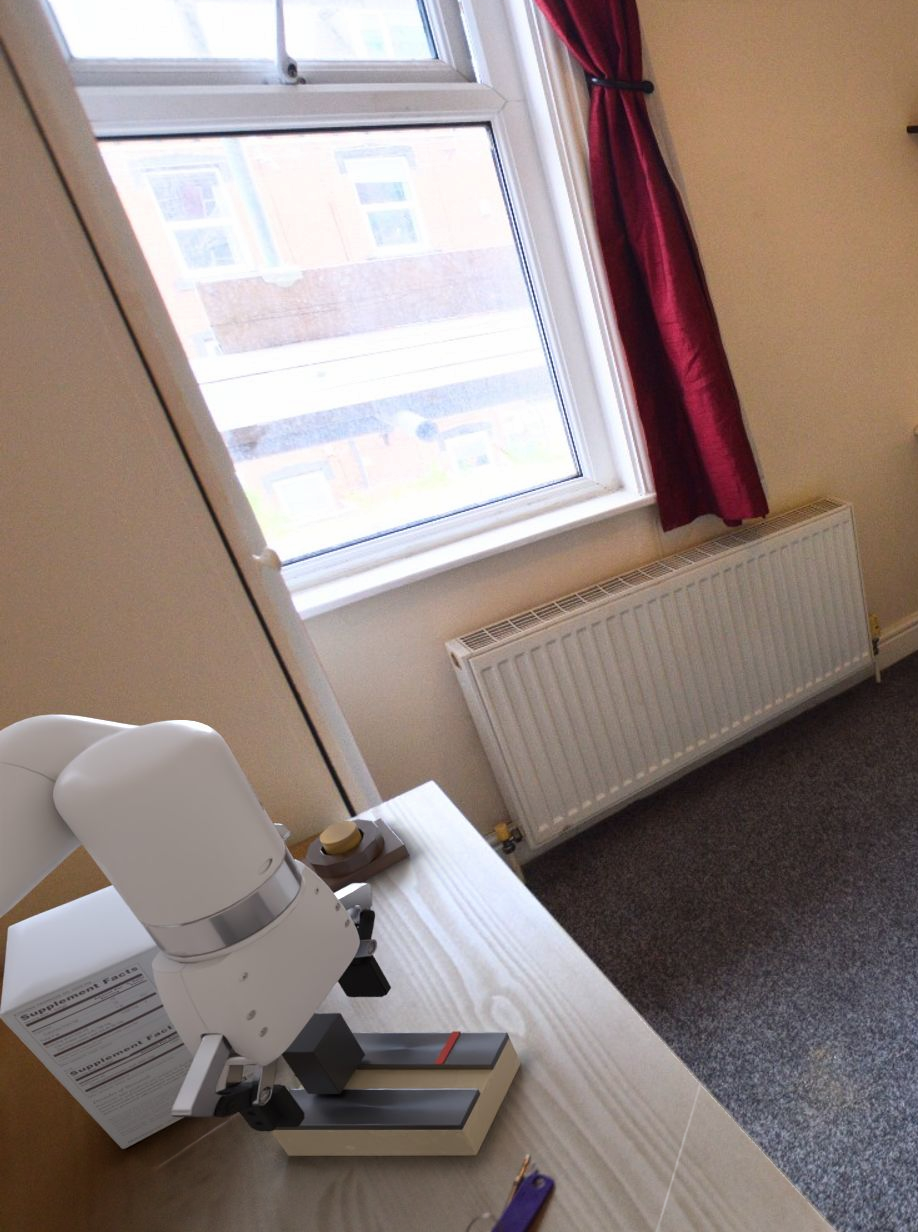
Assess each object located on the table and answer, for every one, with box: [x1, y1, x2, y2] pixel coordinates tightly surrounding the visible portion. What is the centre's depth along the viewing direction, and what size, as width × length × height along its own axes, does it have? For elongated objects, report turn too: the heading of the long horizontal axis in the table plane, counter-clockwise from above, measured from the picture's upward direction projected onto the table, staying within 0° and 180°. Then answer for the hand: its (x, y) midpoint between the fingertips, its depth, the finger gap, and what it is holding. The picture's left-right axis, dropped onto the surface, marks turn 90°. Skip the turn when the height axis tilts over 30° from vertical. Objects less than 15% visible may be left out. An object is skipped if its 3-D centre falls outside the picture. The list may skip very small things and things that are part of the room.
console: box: [269, 1030, 521, 1157], centre depth 66 cm, size 14×7×4 cm, turn 90°
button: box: [319, 820, 362, 856], centre depth 86 cm, size 3×3×2 cm
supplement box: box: [0, 884, 255, 1150], centre depth 66 cm, size 10×9×17 cm
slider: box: [280, 1012, 365, 1094], centre depth 64 cm, size 2×3×6 cm
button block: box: [299, 817, 411, 893], centre depth 87 cm, size 8×6×4 cm
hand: (328, 1053), depth 64 cm, fingers open, 9 cm apart
